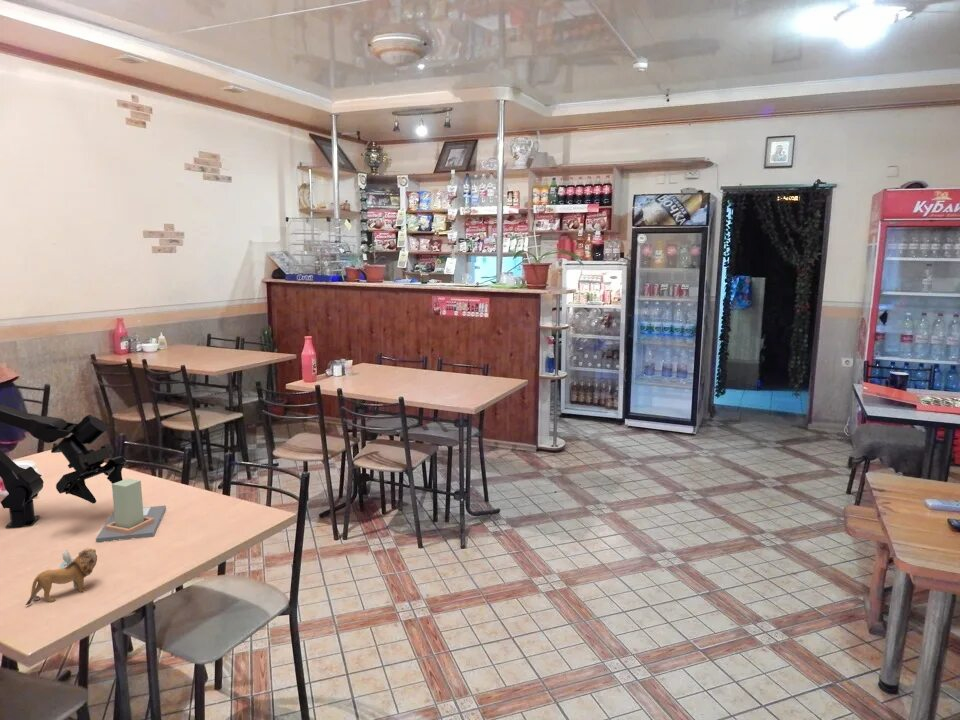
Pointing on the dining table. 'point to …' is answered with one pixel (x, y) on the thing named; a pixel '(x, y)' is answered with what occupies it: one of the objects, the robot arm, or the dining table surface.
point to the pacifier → (66, 559)
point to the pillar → (127, 503)
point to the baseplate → (147, 531)
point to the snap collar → (128, 531)
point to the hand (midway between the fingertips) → (109, 496)
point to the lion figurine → (65, 575)
